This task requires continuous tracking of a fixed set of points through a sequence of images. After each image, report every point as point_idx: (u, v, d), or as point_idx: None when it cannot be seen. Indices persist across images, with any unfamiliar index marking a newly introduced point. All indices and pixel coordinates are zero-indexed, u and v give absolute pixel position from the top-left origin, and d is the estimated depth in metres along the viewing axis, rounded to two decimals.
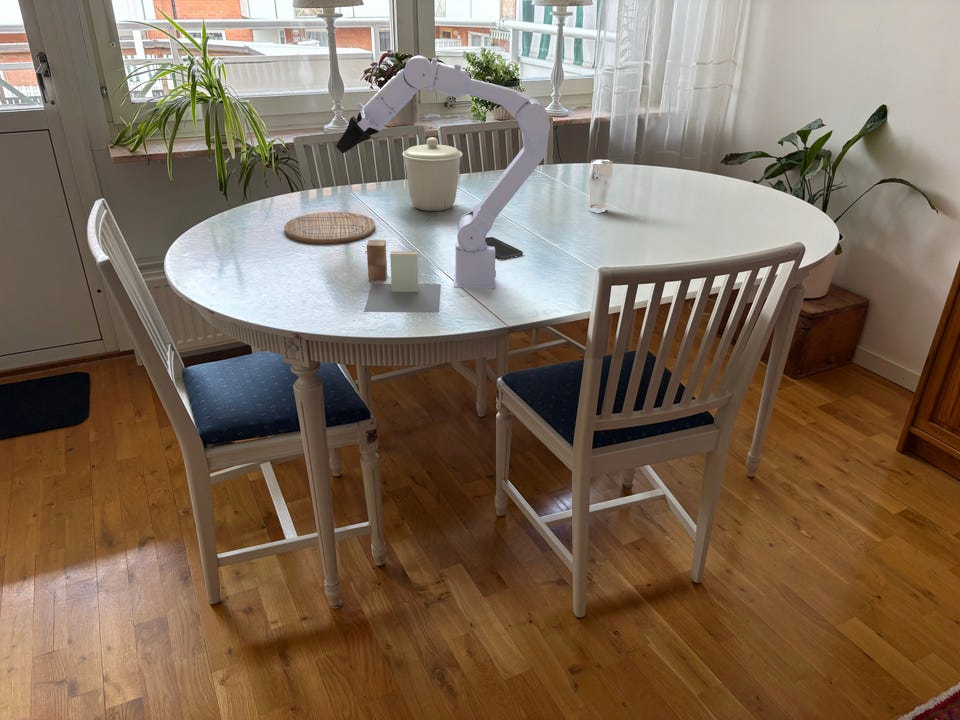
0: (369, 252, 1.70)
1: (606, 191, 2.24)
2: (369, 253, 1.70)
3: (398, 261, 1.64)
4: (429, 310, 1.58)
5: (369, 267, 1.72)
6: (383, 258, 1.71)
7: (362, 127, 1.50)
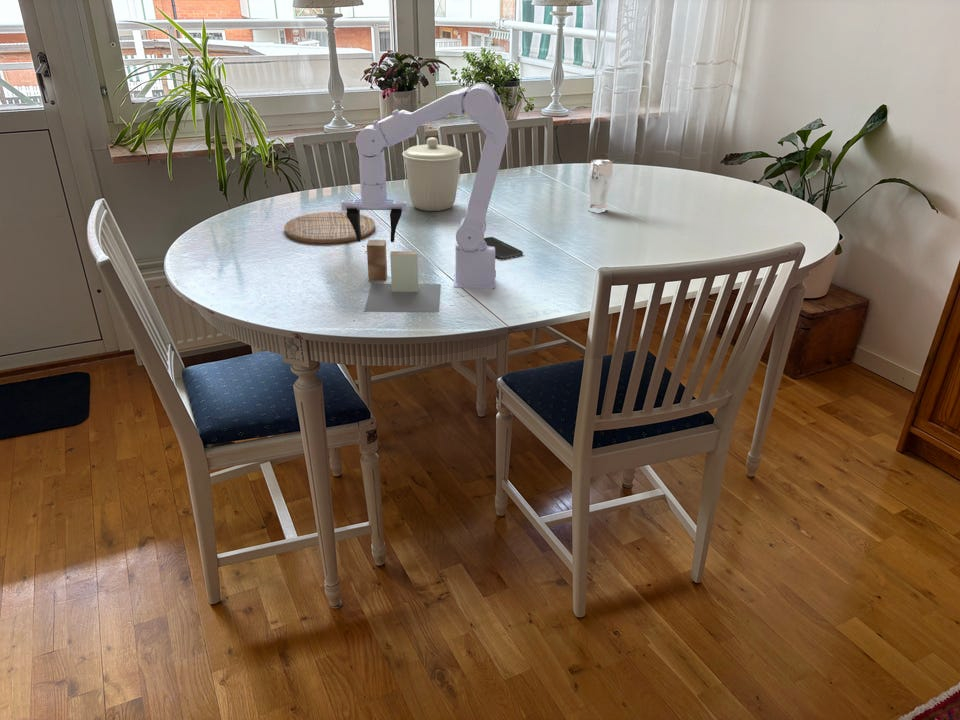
0: (369, 252, 1.70)
1: (606, 191, 2.24)
2: (369, 253, 1.70)
3: (398, 261, 1.64)
4: (429, 310, 1.58)
5: (369, 267, 1.72)
6: (383, 258, 1.71)
7: (342, 208, 1.67)
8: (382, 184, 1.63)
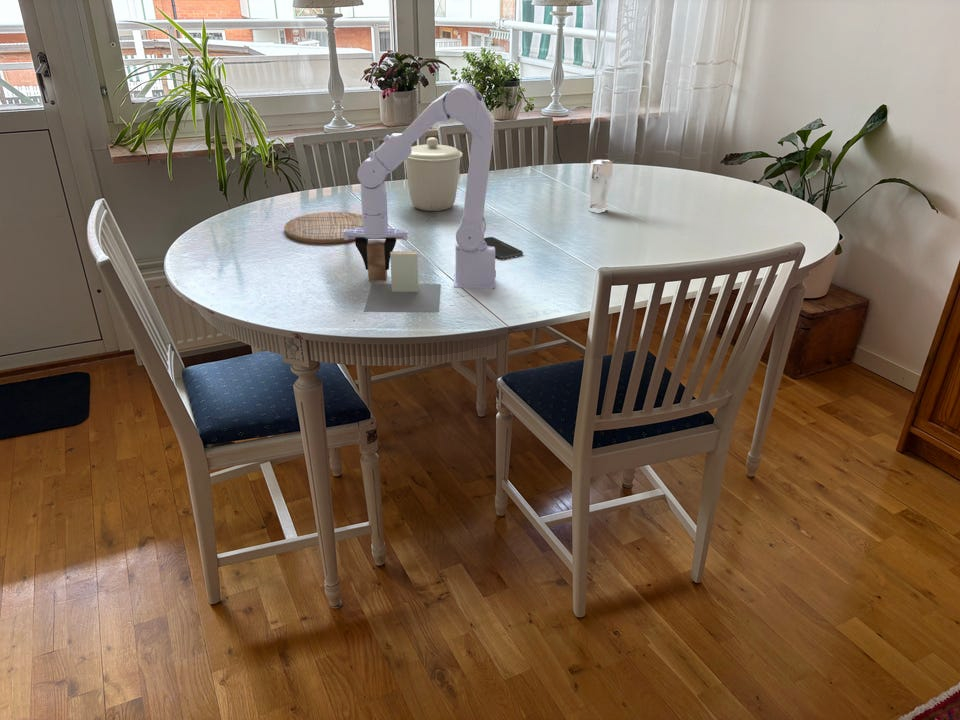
0: (369, 252, 1.70)
1: (606, 191, 2.24)
2: (369, 253, 1.70)
3: (398, 261, 1.64)
4: (429, 310, 1.58)
5: (369, 267, 1.72)
6: (383, 258, 1.71)
7: (344, 237, 1.70)
8: (383, 214, 1.66)
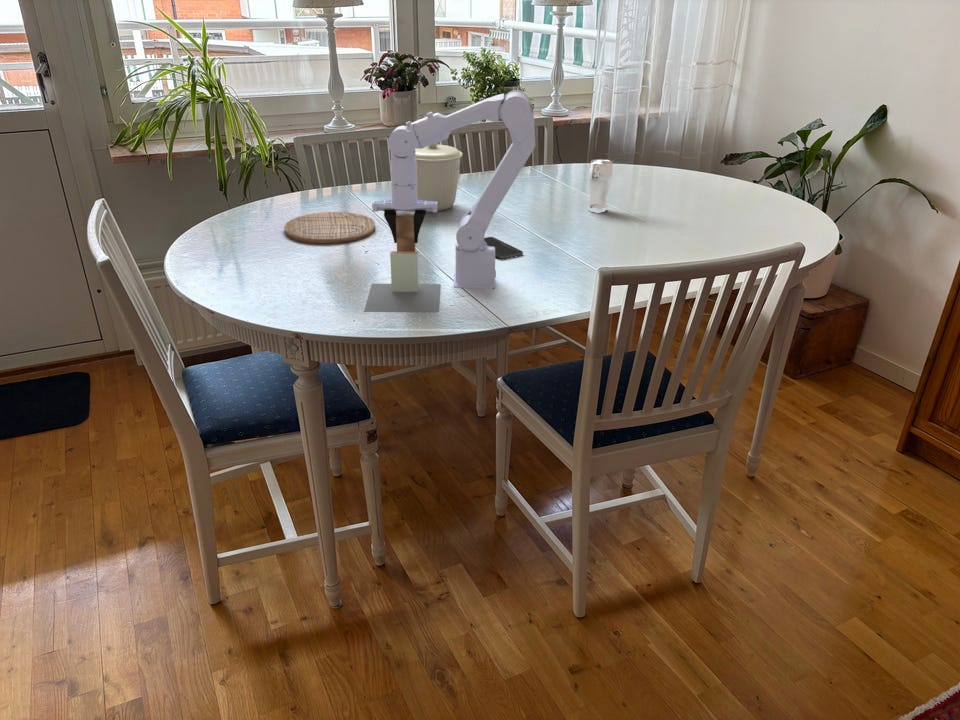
0: (398, 224, 1.66)
1: (606, 191, 2.24)
2: (398, 225, 1.66)
3: (398, 261, 1.64)
4: (429, 310, 1.58)
5: (398, 240, 1.68)
6: (412, 230, 1.67)
7: None
8: (413, 185, 1.62)
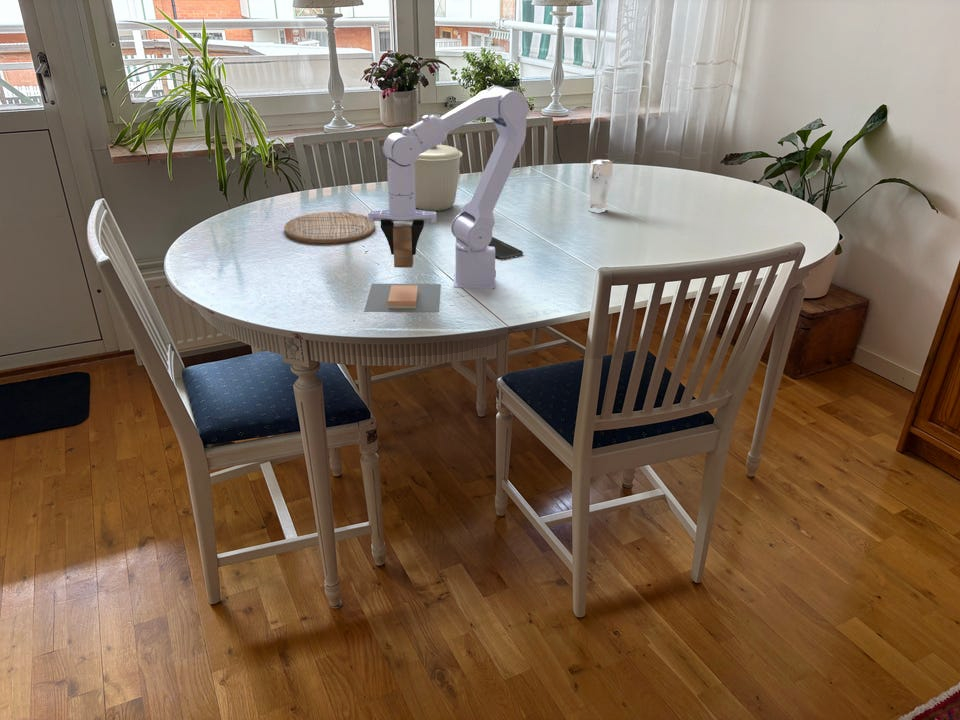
0: (396, 235, 1.59)
1: (606, 191, 2.24)
2: (396, 236, 1.59)
3: None
4: (429, 310, 1.58)
5: (395, 251, 1.61)
6: (410, 242, 1.60)
7: None
8: (411, 194, 1.55)
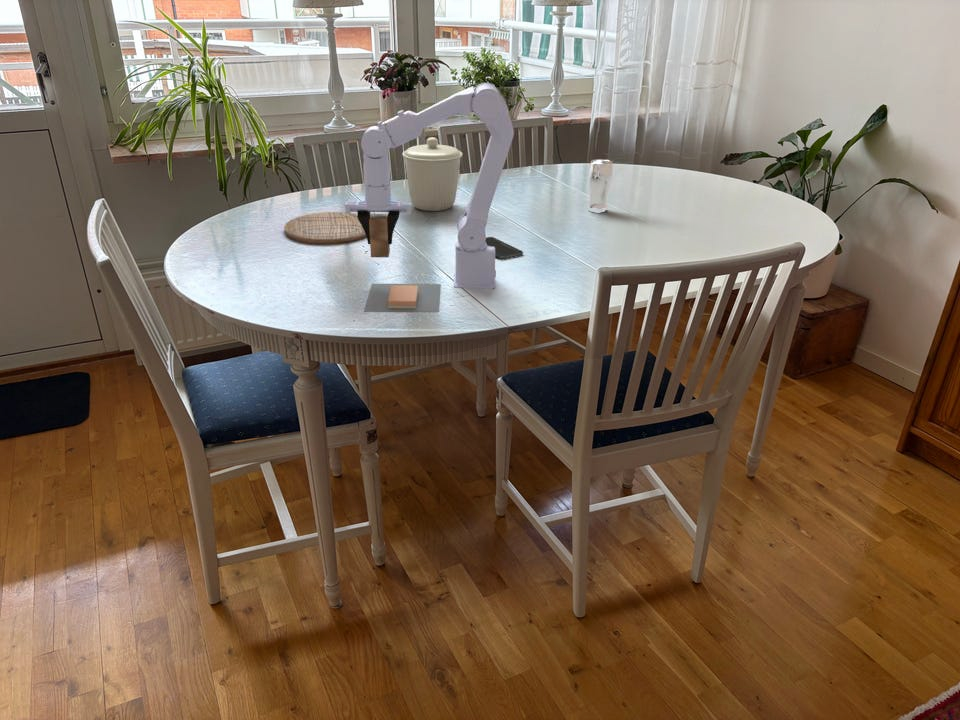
0: (372, 226, 1.65)
1: (606, 191, 2.24)
2: (372, 227, 1.65)
3: None
4: (429, 310, 1.58)
5: (371, 242, 1.66)
6: (386, 232, 1.65)
7: (346, 210, 1.65)
8: (386, 186, 1.61)
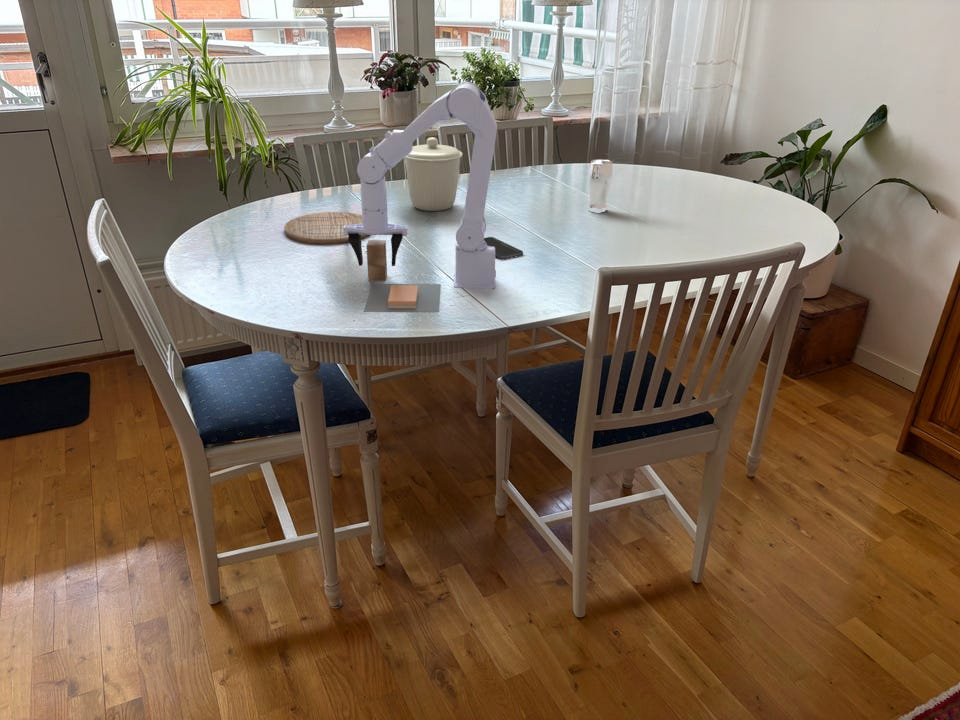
0: (369, 252, 1.70)
1: (606, 191, 2.24)
2: (369, 253, 1.70)
3: None
4: (429, 310, 1.58)
5: (369, 267, 1.72)
6: (383, 258, 1.71)
7: (344, 233, 1.70)
8: (383, 210, 1.66)
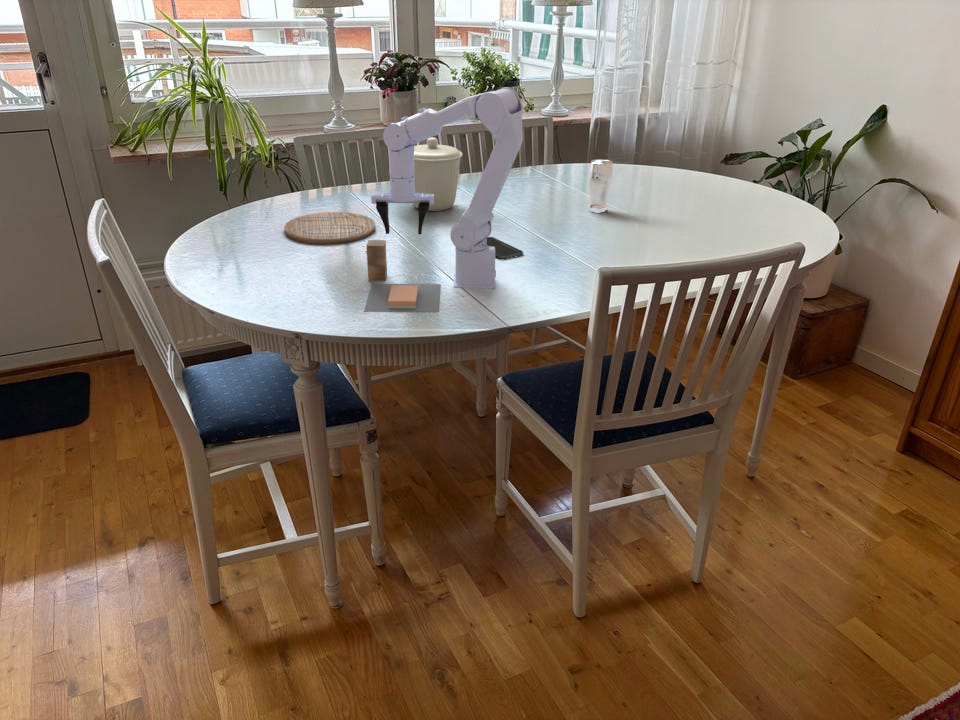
0: (369, 252, 1.70)
1: (606, 191, 2.24)
2: (369, 253, 1.70)
3: None
4: (429, 310, 1.58)
5: (369, 267, 1.72)
6: (383, 258, 1.71)
7: None
8: (411, 178, 1.69)
